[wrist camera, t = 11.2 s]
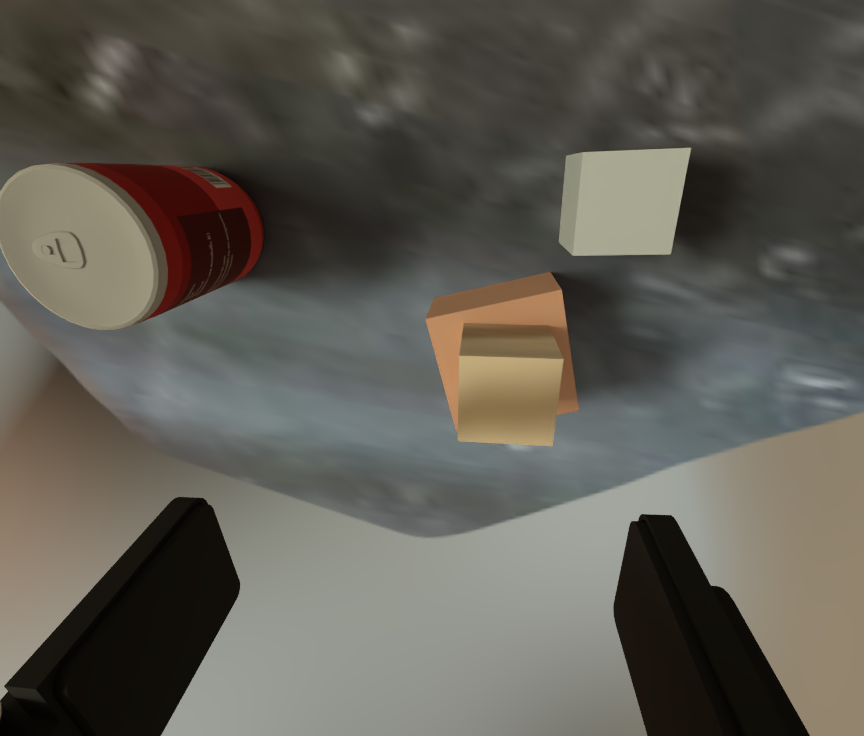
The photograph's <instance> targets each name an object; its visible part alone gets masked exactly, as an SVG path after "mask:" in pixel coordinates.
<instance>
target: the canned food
mask: <svg viewBox="0 0 864 736" xmlns="http://www.w3.org/2000/svg"><path fill="white" fill-rule="evenodd" d="M263 243H264V229H263V224H262V220H261V216H260V214H259V212H258V210H257V207H256V206H255V204H254V202H253V201H252V199H251V198H250V196H249V195H248V194H247V193H246V192H245V191H244V190H243V189H242V188H241V187H240V186H239V185H237V184H236V183H235V182H234V181H232V180H231V179H229V178H227V177H225V176H224V175H222V174H220V173H218V172H216V171H213V170H210V169H207V168H204V167H195V166H169V165H136V164H104V163H53V164H45V165H36V166H31V167H28V168H26V169H24V170H21V171H19V172H17V173H16V174H15V175H14V176H13V177H11V178H10V179H9V180H8V181H7V182H6V184H5V185H4V187H3V188H2V190H1V191H0V247H1V250H2V253H3V255H4V257H5V259H6V261H7V263H8V265H9V267H10V268H11V270H12V271H13V273H14V274H15V276H16V277H17V279H18V280H19V282H20V283H21V284H22V285H23V286H24V287H25V288H26V290H27V291H28V292H29V293H30V294H31V295H32V296H33V297H34V298H35V299H36V300H38V301H39V302H40V303H41V304H42V305H43V306H44V307H46V308H47V309H49V310H50V311H52V312H53V313H55V314H56V315H58V316H59V317H62V318H64V319H66V320H68V321H70V322H72V323H74V324H77V325H80V326H84V327H87V328H92V329H99V330H112V329H119V328H123V327H127V326H130V325H134V324H137V323H140V322H142V321H145V320H147V319H149V318H152V317H155V316H157V315H159V314H162V313H164V312H166V311H168V310H171V309H173V308H175V307H178V306H180V305H182V304H184V303H187V302H189V301H191V300H193V299H196V298H198V297H200V296H202V295H205V294H207V293H209V292H212V291H214V290H216V289H218V288H221V287H223V286H225V285H227V284H230V283H232V282H234V281H236V280H238V279H240V278H242V277H244V276H245V275H246V274H247V273H248V272H249V271H250V270H251V269H252V268H253V266H254V265H255V263H256V262H257V260H258V259H259V257H260V254H261V252H262V249H263Z"/></svg>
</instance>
